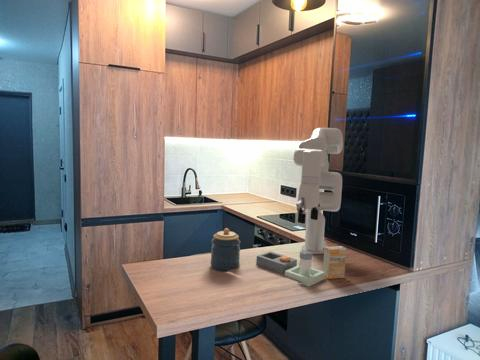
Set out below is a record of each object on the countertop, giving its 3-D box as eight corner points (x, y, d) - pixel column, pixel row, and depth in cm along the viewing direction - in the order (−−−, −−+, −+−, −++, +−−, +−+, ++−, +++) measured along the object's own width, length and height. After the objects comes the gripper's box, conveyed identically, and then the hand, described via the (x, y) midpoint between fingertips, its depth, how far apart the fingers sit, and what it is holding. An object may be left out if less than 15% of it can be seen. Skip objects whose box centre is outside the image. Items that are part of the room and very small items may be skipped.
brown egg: (283, 265, 162) (283, 255, 161) (291, 268, 159) (292, 258, 158) (277, 268, 158) (277, 257, 158) (285, 270, 156) (286, 260, 155)
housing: (269, 261, 170) (270, 251, 170) (296, 270, 160) (296, 259, 160) (256, 266, 163) (256, 255, 163) (283, 276, 153) (283, 264, 152)
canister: (236, 273, 154) (237, 233, 151) (206, 270, 156) (208, 230, 154) (241, 263, 166) (243, 226, 164) (214, 260, 169) (216, 223, 167)
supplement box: (327, 279, 151) (329, 249, 150) (321, 275, 156) (324, 246, 154) (344, 278, 154) (347, 248, 152) (338, 274, 158) (341, 245, 157)
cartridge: (302, 272, 155) (304, 250, 154) (313, 276, 152) (314, 253, 151) (295, 275, 151) (297, 252, 150) (306, 279, 148) (308, 255, 147)
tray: (300, 270, 160) (300, 264, 160) (324, 278, 152) (324, 271, 152) (284, 277, 151) (284, 270, 151) (309, 286, 143) (309, 279, 143)
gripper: (313, 178, 156) (311, 216, 159) (290, 180, 144) (288, 222, 146) (329, 180, 151) (326, 219, 154) (307, 183, 139) (304, 226, 141)
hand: (307, 221), depth 150 cm, fingers open, 9 cm apart
